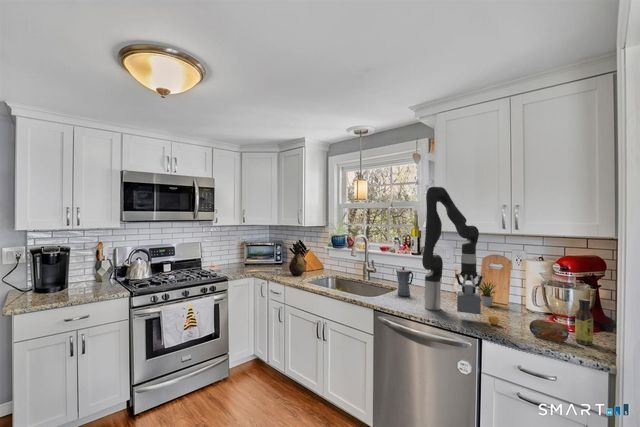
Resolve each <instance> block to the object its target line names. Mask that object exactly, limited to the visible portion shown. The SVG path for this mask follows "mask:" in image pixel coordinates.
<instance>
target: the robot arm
mask: <svg viewBox="0 0 640 427" xmlns="http://www.w3.org/2000/svg"><path fill="white" fill-rule="evenodd" d="M425 196H426V197H425V198H426V200H425V201H426V215H425V216H426V217H425V218H426V220H425V233H424V234H425V237H424V247H423V252H422V258H421V259H422V260H421V262H422V263H421V264H422V266H423V268H424V270H426V271H429V272H428V273H427V274H425V276H424V308H425V309H426V310H430V311H440V310H441V304H442V303H441V300H442V299H441V294H442V293H441V292H442V289H441V288H442V287H441V286H442V285H441V284H442V277H443V268H444V267H443V265H444V264H443V258H442V256H441V255H439V254H434V250H435V247H436V245H437V242H438V241H439V239H440V237H441V235H442V229H443V228H442V225H443V224H442V220H441V218H440V216H439V213H438V208H437V207H438V206H437V204H438V203H439V202H440V203H441V204H442V205H443V206H444V208H445V212H446V215H447V218H448V219H449V221H451V222H452V224H453V225H454V227H455V229H456V232H457V233H458V235H459V236H460V237H461V238H463V239H466V241H465V242H463V243H462V244H461V256H460V263H461V264H460V266H461V270H460V272H459V273H455V278H456V281H457V283H458V286H461V291H462V292H463V293H465V284H466V282H467V281H470V282H471V285H473V294H474V293H477V290H476V288H477V287H478V288H479V286H481V285H480V284H481V283H482V280H483V278H484V277H483V275H479V274H478V272H477V243H478V241H479V240H478V239H479V236H480V235H479V234H480V232H479V229H478V227H477V226H475V225H467V218H466V217H465V215H463V213H462V212H461V211H460V210H459V209H458V207H457V206H456V204H455V202H454V201H453V200H452V197H451V196H450V194H449V193H448V191H447V189H446V188H444V187H442V186H435V185H434V186H429V187H428V188H427V190H426V195H425ZM461 277H462V282H461V279H460V278H461ZM476 278H477V283H476V282H475V279H476Z"/></svg>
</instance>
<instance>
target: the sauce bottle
mask: <svg viewBox="0 0 640 427" xmlns="http://www.w3.org/2000/svg"><path fill="white" fill-rule="evenodd" d="M578 304H579V306H578V309H577V311H576V312H575V320H574V322H575V324H574V339H575V340H574V341H575V342H576V343H577V344H580V345H584V346H592V345H593V342H594V316H593V313H592V312H591V310H590V306H591V300H590V299H586V298H578Z"/></svg>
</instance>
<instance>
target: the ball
mask: <svg viewBox="0 0 640 427" xmlns="http://www.w3.org/2000/svg"><path fill="white" fill-rule="evenodd" d="M488 323H489V324H491V325H493V326H497V325H498V324H499V323H500V318H499V316H497V315H496V314H490V315H489V316H488Z"/></svg>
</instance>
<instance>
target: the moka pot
mask: <svg viewBox="0 0 640 427" xmlns="http://www.w3.org/2000/svg"><path fill="white" fill-rule="evenodd" d="M395 272H396V278H397V281H398V285H397V287H398V288H397V295H398V296H401V297H409V296H411V291H410V285H412V282H413V278H414V273H413V272H412V270H407V269H405V267H404V266H402V267H401V269H397V270H395ZM410 276H411V277H410Z"/></svg>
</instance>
